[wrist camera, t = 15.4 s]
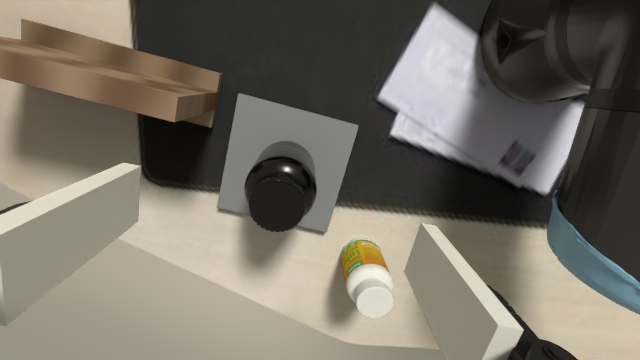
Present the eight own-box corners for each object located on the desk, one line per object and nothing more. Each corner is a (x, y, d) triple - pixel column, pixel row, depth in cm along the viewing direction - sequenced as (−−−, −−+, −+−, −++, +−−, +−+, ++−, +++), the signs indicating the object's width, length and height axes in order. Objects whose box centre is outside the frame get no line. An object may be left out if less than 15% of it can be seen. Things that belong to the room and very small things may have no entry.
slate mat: (357, 124, 37) (358, 126, 36) (326, 228, 41) (326, 232, 40) (240, 93, 36) (238, 93, 35) (219, 204, 40) (216, 207, 39)
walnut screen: (222, 73, 35) (181, 70, 24) (213, 126, 37) (171, 146, 25) (31, 20, 33) (-117, -12, 21) (31, 79, 34) (-107, 78, 23)
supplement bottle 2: (351, 230, 41) (364, 274, 32) (387, 245, 42) (409, 292, 33) (333, 263, 43) (340, 314, 34) (368, 277, 44) (384, 330, 34)
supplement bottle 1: (289, 205, 39) (282, 257, 28) (245, 171, 37) (218, 210, 26) (326, 165, 38) (335, 202, 26) (282, 127, 36) (271, 149, 25)
